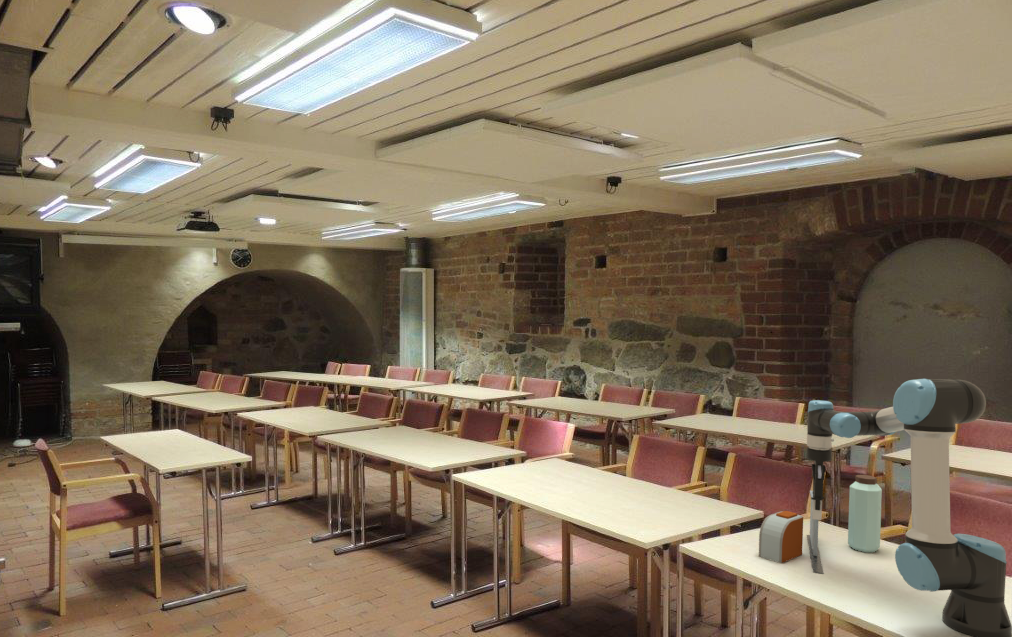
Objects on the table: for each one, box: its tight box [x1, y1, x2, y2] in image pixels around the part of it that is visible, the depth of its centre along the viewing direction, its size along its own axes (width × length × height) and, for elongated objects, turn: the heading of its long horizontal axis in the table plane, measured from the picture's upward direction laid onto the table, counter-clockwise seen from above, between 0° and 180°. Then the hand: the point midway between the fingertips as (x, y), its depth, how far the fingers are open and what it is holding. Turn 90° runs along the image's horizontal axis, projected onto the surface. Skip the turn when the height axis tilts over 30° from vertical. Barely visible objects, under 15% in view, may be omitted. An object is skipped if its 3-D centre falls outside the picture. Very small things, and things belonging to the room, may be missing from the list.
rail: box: [806, 534, 825, 575], centre depth 237 cm, size 39×3×1 cm, turn 160°
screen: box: [809, 490, 820, 556], centre depth 243 cm, size 22×2×16 cm, turn 160°
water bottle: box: [847, 474, 883, 553], centre depth 243 cm, size 10×10×25 cm
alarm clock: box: [758, 510, 804, 564], centre depth 235 cm, size 15×8×14 cm, turn 130°
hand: (816, 518), depth 231 cm, fingers closed
